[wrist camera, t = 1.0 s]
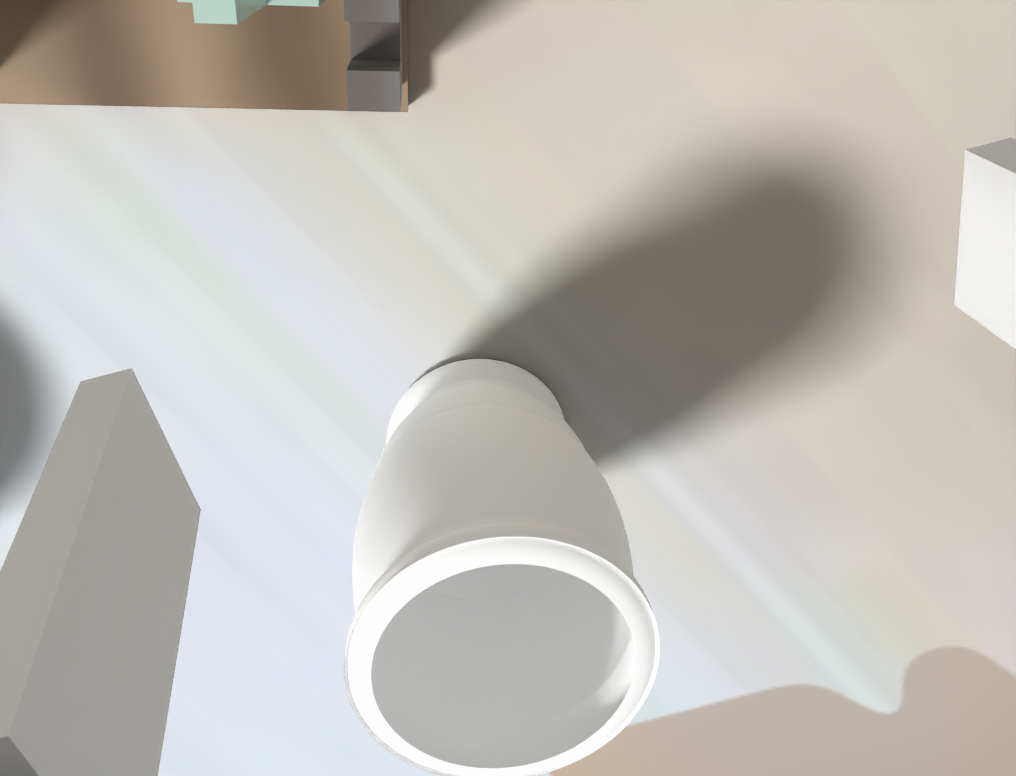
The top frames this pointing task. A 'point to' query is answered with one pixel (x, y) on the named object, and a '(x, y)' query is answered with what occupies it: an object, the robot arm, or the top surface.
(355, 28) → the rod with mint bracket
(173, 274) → the top surface
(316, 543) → the top surface
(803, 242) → the top surface
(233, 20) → the mint green stepped block
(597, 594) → the jar
